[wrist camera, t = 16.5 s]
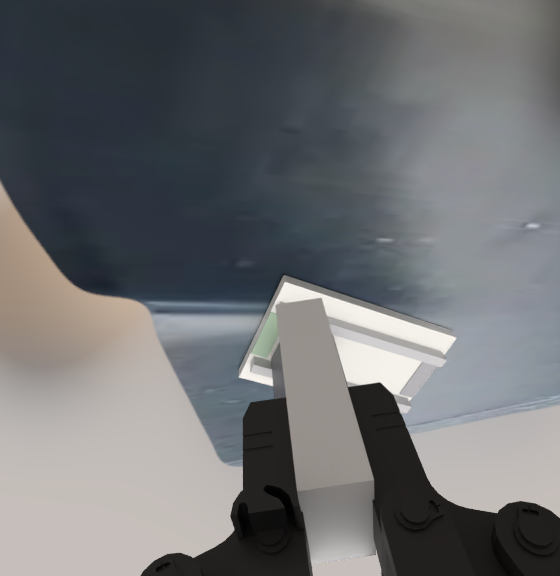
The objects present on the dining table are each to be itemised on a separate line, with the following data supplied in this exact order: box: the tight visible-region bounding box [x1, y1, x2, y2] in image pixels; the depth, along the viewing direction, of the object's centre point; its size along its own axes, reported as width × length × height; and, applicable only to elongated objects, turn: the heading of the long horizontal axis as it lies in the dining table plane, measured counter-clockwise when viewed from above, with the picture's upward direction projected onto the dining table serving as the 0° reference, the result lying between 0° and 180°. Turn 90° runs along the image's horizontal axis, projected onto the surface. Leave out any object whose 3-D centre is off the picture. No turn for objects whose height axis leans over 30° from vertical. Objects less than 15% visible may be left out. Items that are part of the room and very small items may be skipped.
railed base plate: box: [239, 275, 457, 413], centre depth 52 cm, size 22×14×3 cm, turn 67°
